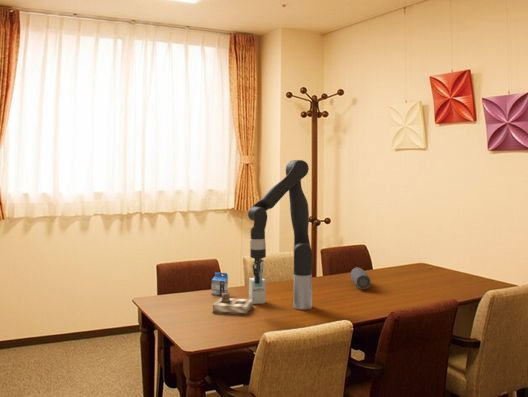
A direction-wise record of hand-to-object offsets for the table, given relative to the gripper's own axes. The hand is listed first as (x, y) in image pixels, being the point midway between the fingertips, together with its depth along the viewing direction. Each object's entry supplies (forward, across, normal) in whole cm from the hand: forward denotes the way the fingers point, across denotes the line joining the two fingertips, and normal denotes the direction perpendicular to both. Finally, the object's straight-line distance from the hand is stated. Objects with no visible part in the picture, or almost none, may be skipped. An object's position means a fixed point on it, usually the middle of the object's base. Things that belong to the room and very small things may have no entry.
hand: (258, 282), depth 250 cm
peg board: (+15, +3, +14) cm, 21 cm away
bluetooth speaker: (+17, +67, -48) cm, 84 cm away
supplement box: (+16, +20, +5) cm, 26 cm away
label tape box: (+15, +31, +29) cm, 45 cm away
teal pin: (+2, 0, 0) cm, 2 cm away
